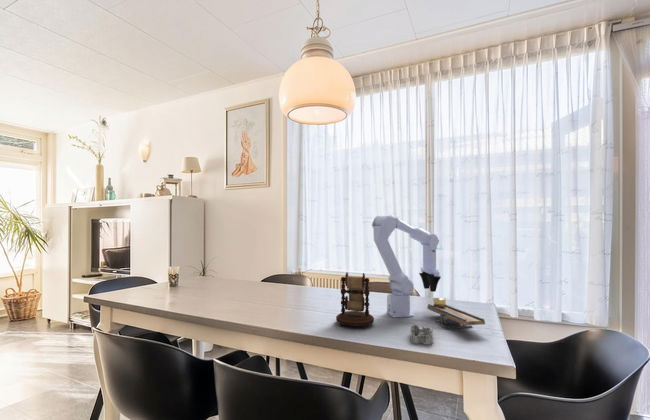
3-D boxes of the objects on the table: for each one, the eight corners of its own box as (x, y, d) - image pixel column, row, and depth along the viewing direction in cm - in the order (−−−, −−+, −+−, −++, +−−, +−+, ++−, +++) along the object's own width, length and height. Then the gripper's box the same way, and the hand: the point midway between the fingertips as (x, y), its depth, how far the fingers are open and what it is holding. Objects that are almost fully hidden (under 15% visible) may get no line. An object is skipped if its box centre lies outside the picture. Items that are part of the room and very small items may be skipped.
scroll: (375, 319, 132) (375, 270, 133) (371, 331, 118) (371, 276, 118) (340, 317, 136) (340, 269, 136) (332, 328, 121) (332, 274, 122)
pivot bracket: (445, 328, 121) (445, 316, 121) (435, 322, 129) (435, 311, 129) (472, 327, 123) (472, 315, 123) (460, 321, 130) (460, 310, 131)
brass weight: (436, 308, 134) (436, 299, 134) (431, 306, 139) (431, 297, 139) (448, 308, 135) (447, 299, 135) (442, 305, 140) (441, 297, 140)
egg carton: (411, 333, 117) (411, 322, 117) (433, 335, 114) (433, 324, 114) (409, 343, 106) (409, 331, 107) (433, 346, 104) (433, 333, 104)
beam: (463, 325, 112) (463, 319, 112) (427, 308, 139) (427, 304, 139) (485, 324, 113) (484, 318, 113) (444, 308, 140) (444, 303, 140)
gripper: (445, 261, 140) (446, 293, 139) (430, 258, 154) (430, 286, 154) (430, 261, 139) (430, 293, 138) (416, 258, 153) (416, 286, 153)
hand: (429, 289), depth 146 cm, fingers open, 6 cm apart
